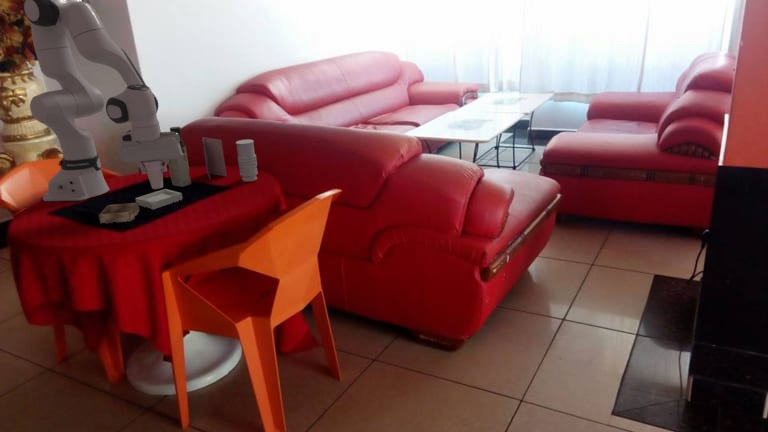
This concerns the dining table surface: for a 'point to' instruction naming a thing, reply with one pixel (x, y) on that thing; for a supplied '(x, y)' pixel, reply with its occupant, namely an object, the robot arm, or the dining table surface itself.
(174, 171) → the skincare box
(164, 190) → the tray
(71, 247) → the dining table surface
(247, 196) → the dining table surface
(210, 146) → the greeting card
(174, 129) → the sauce bottle
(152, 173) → the smoothie
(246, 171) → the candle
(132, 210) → the frame
